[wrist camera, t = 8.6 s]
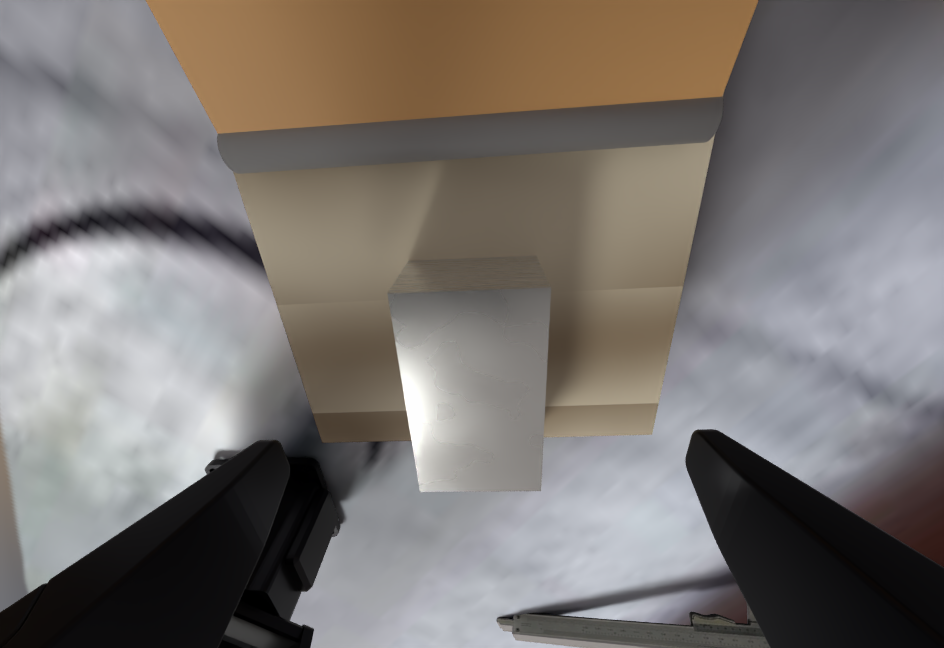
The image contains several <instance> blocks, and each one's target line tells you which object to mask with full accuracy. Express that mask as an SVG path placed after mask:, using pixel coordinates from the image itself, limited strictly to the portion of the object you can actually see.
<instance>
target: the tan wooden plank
mask: <svg viewBox="0 0 944 648" xmlns="http://www.w3.org/2000/svg"><path fill="white" fill-rule="evenodd" d="M146 2H147V4H148V5H149V7H150V9H151V11H152V13H153V15H154V16H155V18H156V20H157V22H158V24H159V26H160V28H161V29H162V31H163V33H164V35H165V37H166V39H167V41H168V42H169V44H170V46H171V48H172V50H173V52H174V53H175V55H176V57H177V59H178V61H179V63H180V65H181V66H182V68H183V70H184V72H185V74H186V76H187V77H188V79H189V81H190V83H191V85H192V87H193V89H194V90H195V92H196V94H197V96H198V98H199V100H200V102H201V103H202V105H203V107H204V109H205V111H206V113H207V114H208V116H209V118H210V120H211V122H212V124H213V126H214V127H215V129H216V131H217V133H218V136H217V143H218V149H219V152H220V154H221V157H222V159H223V161H224V162H225V164H226V165H227V166H228V167H229V168H230V169H231V170H232V171H233V172H235V173H238V174H244V173H259V172H274V171H288V170H303V169H318V168H333V167H348V166H363V165H378V164H393V163H407V162H422V161H437V160H452V159H467V158H482V157H497V156H512V155H527V154H541V153H556V152H571V151H586V150H601V149H616V148H631V147H646V146H660V145H675V144H690V143H705V142H708V141H709V140H710V139H711V138H712V137H713V136H714V135H715V133H716V131H717V129H718V127H719V125H720V122H721V118H722V114H723V98H722V95H723V93H724V90H725V87H726V85H727V82H728V79H729V77H730V74H731V71H732V69H733V66H734V64H735V61H736V58H737V56H738V53H739V50H740V48H741V45H742V42H743V40H744V37H745V35H746V32H747V29H748V27H749V24H750V21H751V19H752V16H753V13H754V11H755V8H756V5H757V3H758V0H146Z"/></svg>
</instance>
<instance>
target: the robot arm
mask: <svg viewBox="0 0 944 648" xmlns="http://www.w3.org/2000/svg"><path fill="white" fill-rule="evenodd" d="M685 462H686V468H687V471H688V473H689V476H690V478H691V481H692V483H693V486H694V488H695V491H696V493H697V496H698V499H699V501H700V504H701V506H702V509H703V511H704V514H705V516H706V519H707V521H708V524H709V526H710V529H711V531H712V533H713V536H714V538H715V540H716V543H717V545H718V547H719V549H720V551H721V553H722V555H723V557H724V559H725V561H726V563H727V565H728V567H729V569H730V571H731V573H732V575H733V577H734V578H735V580H736V582H737V584H738V586H739V588H740V590H741V592H742V594H743V596H744V598H745V600H746V602H747V604H748V606H749V608H750V610H751V611H752V613H753V615H754V617H755V619H756V621H757V623H758V625H759V627H760V629H761V631H762V633H763V635H764V637H765V639H766V641H767V643H768V644H769V646H770V648H944V567H942V566H940V565H939V564H937V563H935V562H934V561H932V560H930V559H929V558H927V557H925V556H924V555H922V554H921V553H919V552H917V551H916V550H914V549H912V548H911V547H909V546H907V545H906V544H904V543H902V542H901V541H899V540H897V539H896V538H894V537H893V536H891V535H889V534H888V533H886V532H884V531H883V530H881V529H879V528H878V527H876V526H874V525H873V524H871V523H870V522H868V521H866V520H865V519H863V518H861V517H860V516H858V515H856V514H855V513H853V512H851V511H850V510H848V509H846V508H845V507H843V506H842V505H840V504H838V503H837V502H835V501H833V500H832V499H830V498H828V497H827V496H825V495H823V494H822V493H820V492H819V491H817V490H815V489H814V488H812V487H810V486H809V485H807V484H805V483H804V482H802V481H800V480H799V479H797V478H795V477H794V476H792V475H791V474H789V473H787V472H786V471H784V470H782V469H781V468H779V467H777V466H776V465H774V464H772V463H771V462H769V461H768V460H766V459H764V458H763V457H761V456H759V455H758V454H756V453H754V452H753V451H751V450H749V449H748V448H746V447H744V446H743V445H741V444H740V443H738V442H736V441H735V440H733V439H731V438H730V437H728V436H726V435H725V434H723V433H721V432H720V431H718V430H713V429H707V430H695V431H694V432H693V434H692V436H691V440H690V444H689V447H688V451H687V454H686V461H685ZM205 471H206V473H207V475H206V476H204V477H203V478H201V479H200V480H198V481H197V482H195V483H194V484H192V485H191V486H189V487H188V488H186V489H185V490H183V491H182V492H180V493H179V494H177V495H176V496H174V497H173V498H171V499H170V500H168V501H167V502H165V503H164V504H162V505H161V506H159V507H158V508H156V509H155V510H153V511H152V512H150V513H149V514H147V515H146V516H144V517H143V518H141V519H140V520H138V521H137V522H135V523H134V524H132V525H131V526H129V527H128V528H126V529H125V530H123V531H122V532H120V533H119V534H117V535H116V536H114V537H113V538H111V539H110V540H108V541H107V542H105V543H104V544H102V545H101V546H99V547H98V548H96V549H95V550H93V551H92V552H90V553H89V554H87V555H86V556H84V557H83V558H81V559H80V560H78V561H77V562H75V563H74V564H72V565H71V566H69V567H68V568H66V569H65V570H63V571H62V572H60V573H59V574H57V575H56V576H54V577H53V578H52V579H50V580H49V582H48V583H45V584H42V585H41V586H39V587H38V588H36V589H35V590H33V591H32V592H30V593H29V594H27V595H26V596H24V597H23V598H21V599H20V600H18V601H17V602H15V603H14V604H12V605H11V606H9V607H8V608H6V609H5V610H3V611H2V612H0V648H310V646H311V641H312V637H313V632H314V629H313V628H311V627H309V626H306V625H302V626H300V625H298V624H296V623H293V622H291V621H290V619H291V616H292V614H293V611H294V609H295V606H296V604H297V602H298V599H299V597H300V594H301V592H307V591H308V590H309V589H310V588H311V587H312V586H313V583H314V581H315V578H316V576H317V573H318V571H319V568H320V565H321V563H322V560H323V558H324V555H325V552H326V550H327V547H328V545H329V542H330V540H331V537H335V536H337V535H338V533H339V530H340V524H339V521H338V515H337V512H336V509H335V507H334V504H333V501H332V498H331V495H330V492H329V491H328V489H327V486H326V483H325V480H324V477H323V474H322V472H321V469H320V466H319V463H318V462H317V461H316V460H315V459H312V458H286V455H285V453H284V450H283V448H282V445H281V443H280V442H279V441H278V440H260V441H257V442H255V443H254V444H252V445H251V446H249V447H248V448H246V449H245V450H243V451H242V452H240V453H239V454H237V455H236V456H234V457H233V458H231V459H230V460H212V461H211V462H210V463H209V464H208V465H207V466H206V468H205Z"/></svg>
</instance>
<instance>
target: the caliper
mask: <svg viewBox="0 0 944 648" xmlns="http://www.w3.org/2000/svg"><path fill="white" fill-rule="evenodd" d="M689 617H690V624H691V626H689V625H676V624H663V623H649V622H636V621H622V620H609V619H597V618H585V617H573V616H562V615H550V614H538V613H529V614H522V615H515V616H513V619H506V618H498V619H497V623H498V625H499V626H500V628H502V629H503V631H508V632H512V634H513V636H514V638H515V640H518V641H527V642H537V643H546V644H555V645H564V646H573V647H583V648H770V646H769V644H768V643H767V641H766V639H765V637H764V635H763V633H762V631H761V629H760V627H759V625H758V623H757V621H756V619H755V617H754V615H753V613H752V611H751V610H750V608H749V606H748V604H747V620H748V624H743V623H735V622H734V621H733V620H731V619H728V618H726V617H723V616H720V615H717V614H710V615H702V614H699V613H696V612H690V613H689Z"/></svg>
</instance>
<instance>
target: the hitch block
mask: <svg viewBox="0 0 944 648" xmlns="http://www.w3.org/2000/svg"><path fill="white" fill-rule="evenodd" d="M723 94H724V93H723ZM722 98H723V95H722ZM714 137H715V135H714V136H713V137H712V138H711V139H710V140H709V141H708V142H705V143H690V144H675V145H660V146H646V147H631V148H616V149H601V150H586V151H571V152H556V153H541V154H527V155H512V156H497V157H482V158H467V159H452V160H437V161H422V162H407V163H393V164H378V165H363V166H348V167H333V168H318V169H303V170H288V171H274V172H259V173H244V174H238V173H235V172H233V173H234V176H235V179H236V182H237V185H238V188H239V191H240V194H241V197H242V200H243V203H244V206H245V209H246V212H247V215H248V218H249V221H250V224H251V227H252V230H253V233H254V237H255V240H256V243H257V246H258V249H259V252H260V255H261V258H262V261H263V264H264V267H265V270H266V273H267V276H268V279H269V282H270V285H271V288H272V291H273V294H274V297H275V300H276V303H277V306H278V310H279V313H280V316H281V319H282V322H283V325H284V328H285V331H286V334H287V337H288V340H289V343H290V346H291V349H292V352H293V355H294V358H295V361H296V364H297V367H298V370H299V373H300V376H301V379H302V383H303V386H304V389H305V392H306V395H307V398H308V401H309V404H310V407H311V410H312V413H313V416H314V419H315V422H316V425H317V428H318V431H319V434H320V437H321V440H322V443H335V442H375V441H412V440H411V434H410V428H409V422H408V416H407V410H406V404H405V397H404V391H403V385H402V379H401V373H400V367H399V361H398V355H397V349H396V343H395V337H394V331H393V325H392V319H391V313H390V307H389V301H388V295H387V293H388V291H389V290H390V288H391V287H392V285H393V284H394V282H395V281H396V279H397V278H398V276H399V274H400V273H401V271H402V270H403V268H404V267H405V265H406V264H407V262H408V261H414V260H438V259H463V258H488V257H513V256H537V258H538V260H539V263H540V265H541V267H542V269H543V271H544V273H545V275H546V277H547V280H548V282H549V284H550V286H551V301H550V321H549V340H548V360H547V380H546V400H545V419H544V437H575V436H615V435H652V432H653V427H654V422H655V418H656V413H657V408H658V403H659V399H660V394H661V389H662V384H663V380H664V375H665V370H666V365H667V361H668V356H669V351H670V346H671V342H672V337H673V332H674V327H675V323H676V318H677V313H678V308H679V304H680V299H681V294H682V289H683V284H684V280H685V275H686V270H687V265H688V261H689V256H690V251H691V246H692V242H693V237H694V232H695V227H696V223H697V218H698V213H699V208H700V204H701V199H702V194H703V189H704V185H705V180H706V175H707V170H708V166H709V161H710V156H711V151H712V146H713V142H714Z"/></svg>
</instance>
